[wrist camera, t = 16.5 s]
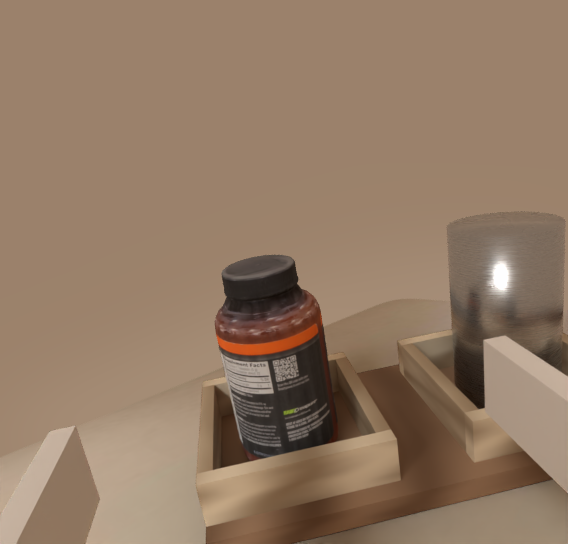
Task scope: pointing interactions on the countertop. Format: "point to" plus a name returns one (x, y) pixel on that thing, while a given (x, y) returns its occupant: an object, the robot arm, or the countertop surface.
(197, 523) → the countertop surface
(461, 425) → the wooden divided tray
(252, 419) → the supplement bottle
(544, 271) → the billet
